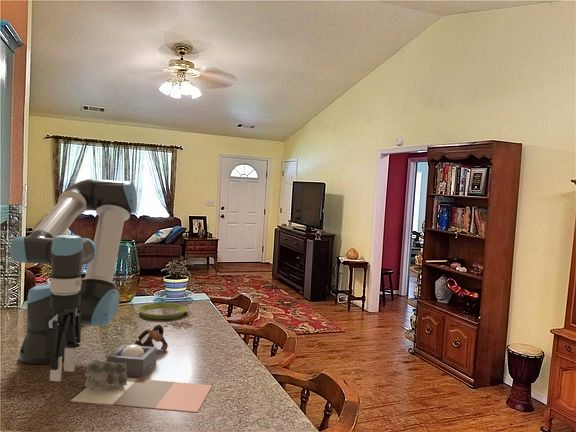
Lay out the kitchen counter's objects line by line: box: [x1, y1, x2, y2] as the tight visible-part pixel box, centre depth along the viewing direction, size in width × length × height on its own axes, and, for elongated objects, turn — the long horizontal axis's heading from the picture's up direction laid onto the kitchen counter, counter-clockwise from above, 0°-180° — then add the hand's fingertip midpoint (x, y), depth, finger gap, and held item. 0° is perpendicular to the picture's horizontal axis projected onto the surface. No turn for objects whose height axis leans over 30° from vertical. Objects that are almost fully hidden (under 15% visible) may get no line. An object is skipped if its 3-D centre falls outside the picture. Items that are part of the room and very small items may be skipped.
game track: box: [70, 377, 213, 414], centre depth 122 cm, size 33×16×1 cm, turn 86°
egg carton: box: [84, 359, 128, 390], centre depth 123 cm, size 11×8×4 cm
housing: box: [106, 344, 158, 377], centre depth 138 cm, size 11×11×5 cm
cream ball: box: [121, 343, 144, 357], centre depth 138 cm, size 7×7×7 cm
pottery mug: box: [134, 324, 168, 353], centre depth 154 cm, size 12×9×8 cm
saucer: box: [138, 302, 188, 320], centre depth 198 cm, size 21×21×3 cm
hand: (62, 375), depth 123 cm, fingers open, 6 cm apart
